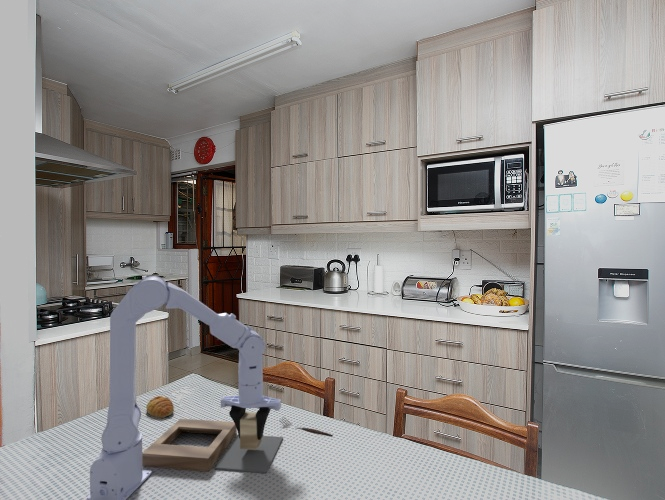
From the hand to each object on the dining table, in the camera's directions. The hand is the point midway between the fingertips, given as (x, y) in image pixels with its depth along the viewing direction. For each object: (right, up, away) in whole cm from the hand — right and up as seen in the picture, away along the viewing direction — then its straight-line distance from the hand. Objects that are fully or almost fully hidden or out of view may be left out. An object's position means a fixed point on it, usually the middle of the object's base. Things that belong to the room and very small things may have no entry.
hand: (251, 436), depth 86 cm
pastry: (-32, -4, +22) cm, 39 cm away
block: (0, -2, 0) cm, 2 cm away
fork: (+12, -4, +11) cm, 17 cm away
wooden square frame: (-15, -4, +2) cm, 15 cm away
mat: (0, -4, 0) cm, 4 cm away
